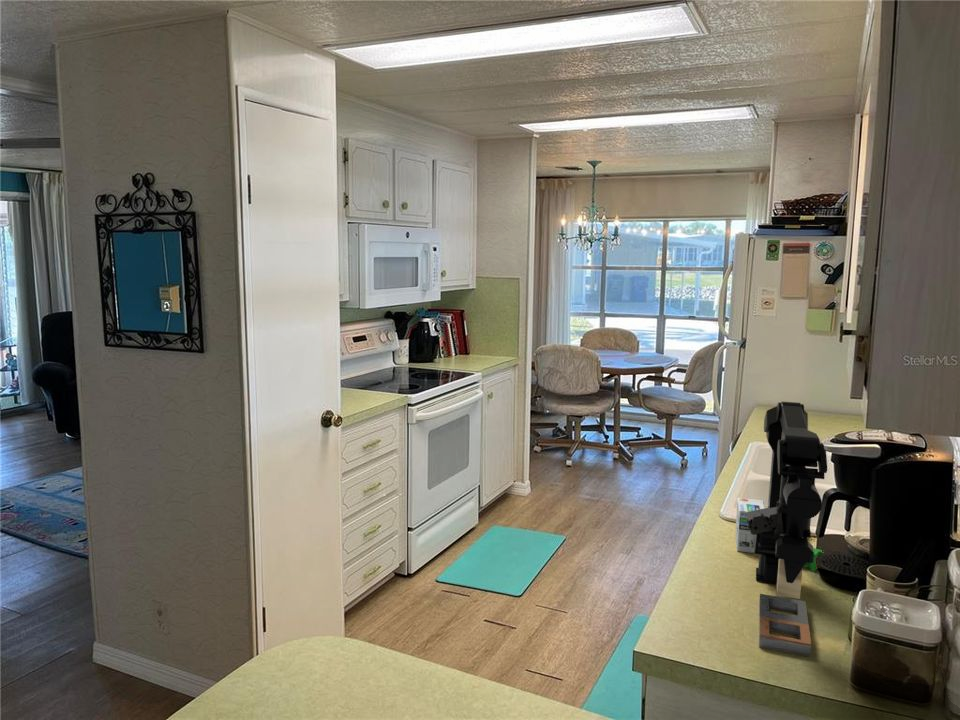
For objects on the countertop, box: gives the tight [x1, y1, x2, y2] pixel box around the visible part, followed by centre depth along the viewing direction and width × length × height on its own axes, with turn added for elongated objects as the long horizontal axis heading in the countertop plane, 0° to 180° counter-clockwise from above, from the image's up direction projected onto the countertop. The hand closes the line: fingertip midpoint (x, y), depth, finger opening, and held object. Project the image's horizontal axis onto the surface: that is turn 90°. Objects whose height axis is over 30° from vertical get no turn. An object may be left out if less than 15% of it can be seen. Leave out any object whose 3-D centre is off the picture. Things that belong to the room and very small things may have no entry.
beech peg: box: [776, 559, 803, 600], centre depth 139 cm, size 4×4×8 cm
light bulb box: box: [734, 497, 766, 554], centre depth 185 cm, size 11×7×11 cm, turn 164°
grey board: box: [758, 593, 812, 658], centre depth 146 cm, size 19×9×2 cm, turn 159°
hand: (789, 577), depth 139 cm, fingers closed on beech peg, 4 cm apart
